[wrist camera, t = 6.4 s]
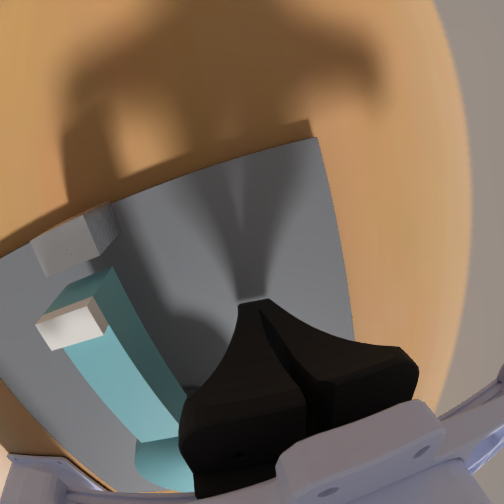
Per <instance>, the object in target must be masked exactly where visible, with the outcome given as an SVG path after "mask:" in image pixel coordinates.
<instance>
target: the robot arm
mask: <svg viewBox="0 0 504 504" xmlns="http://www.w3.org/2000/svg"><path fill="white" fill-rule="evenodd" d="M237 308H238V317H237V322H236V326H235V330H234V333H233V336H232V339H231V341H230V344H229V346H228V348H227V350H226V352H225V354H224V356H223V358H222V360H221V361H220V363H219V364H218V366H217V368H216V369H215V370H214V372H213V373H212V374H211V376H210V377H209V378H208V379H207V380H206V381H205V383H204V384H203V385H202V386H201V387H200V388H199V389H198V390H197V391H196V392H194V393H193V394H192V395H191V396H190V397H189V398H187V399H186V400H185V402H184V405H183V409H182V412H181V417H180V422H179V429H178V447H179V450H180V454H181V455H182V457H183V459H184V460H185V462H186V464H187V465H188V467H189V468H190V470H191V472H192V473H193V480H194V492H185V493H124V492H110V491H108V490H106V489H105V488H103V487H102V486H101V485H99V484H98V483H97V482H95V481H94V480H92V479H91V478H90V477H89V476H87V475H86V474H85V473H83V472H82V471H81V470H80V469H78V468H77V467H76V466H75V465H74V464H72V463H71V462H70V461H69V460H68V459H66V458H64V457H48V456H30V455H18V454H7V457H8V459H10V460H11V461H12V464H11V467H10V470H9V473H8V476H7V479H6V483H5V486H4V489H3V493H2V496H1V500H0V504H493V503H492V502H491V500H490V499H489V498H488V496H487V495H486V494H485V492H484V491H483V489H482V488H481V487H480V485H479V484H478V483H477V481H476V480H475V478H474V477H473V476H472V474H473V473H475V472H476V471H477V470H478V469H479V468H480V467H482V466H483V465H484V464H485V463H486V462H487V461H488V460H490V459H491V458H492V457H493V456H494V455H495V454H496V453H497V452H498V451H499V450H500V449H501V448H502V447H503V446H504V364H503V365H502V367H501V369H500V371H499V373H498V376H497V378H496V379H495V380H494V381H492V382H491V383H490V384H488V385H487V386H486V387H484V388H483V389H481V390H480V391H479V392H477V393H476V394H474V395H473V396H471V397H470V398H468V399H467V400H465V401H464V402H462V403H461V404H459V405H457V406H456V407H454V408H453V409H451V410H449V411H448V412H446V413H444V414H443V415H441V416H439V417H438V418H437V417H436V416H435V414H434V413H433V412H432V411H431V409H430V408H429V407H428V406H427V405H426V403H425V402H423V401H421V400H419V399H414V400H412V397H413V394H414V391H415V388H416V385H417V382H418V377H419V368H418V366H417V365H416V363H415V362H414V361H413V360H412V359H411V358H410V357H409V356H408V354H407V353H405V352H404V351H403V350H402V349H401V348H400V347H395V346H381V345H372V344H366V343H360V342H355V341H351V340H347V339H344V338H340V337H337V336H334V335H331V334H329V333H326V332H324V331H321V330H319V329H317V328H314V327H312V326H310V325H309V324H307V323H305V322H303V321H301V320H300V319H298V318H296V317H295V316H293V315H292V314H290V313H289V312H287V311H286V310H284V309H283V308H281V307H280V306H279V305H277V304H276V303H275V302H273V301H272V300H271V299H269V298H267V299H262V300H257V301H251V302H246V303H240V304H239V305H238V306H237Z"/></svg>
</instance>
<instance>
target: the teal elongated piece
mask: <svg viewBox="0 0 504 504" xmlns="http://www.w3.org/2000/svg"><path fill="white" fill-rule="evenodd" d="M35 326H36V328H37V329H38V331H39V332H40V334H41V335H42V337H43V339H44V340H45V342H46V343H47V345H48V346H49V348H50V349H51V351H53V350H56V349H60V348H63V349H64V350H65V352H66V353H67V355H68V356H69V358H70V359H71V360H72V362H73V363H74V365H75V366H76V367H77V369H78V370H79V371H80V373H81V374H82V375H83V377H84V378H85V379H86V381H87V382H88V383H89V385H90V386H91V387H92V388H93V390H94V391H95V392H96V393H97V395H98V396H99V397H100V398H101V399H102V401H103V402H104V403H105V404H106V405H107V406H108V408H109V409H110V410H111V411H112V412H113V413H114V414H115V416H116V417H117V418H118V419H119V420H120V421H121V422H122V423H123V424H124V425H125V426H126V427H127V428H128V430H129V431H130V432H131V433H132V434H133V435H134V436H135V437H136V438H137V441H136V449H135V459H134V465H135V468H136V470H137V471H138V473H139V474H140V475H141V476H142V477H143V478H145V479H146V480H148V481H149V482H151V483H153V484H155V485H158V486H160V487H163V488H166V489H170V490H174V491H180V492H194V480H193V473H192V472H191V470H190V468H189V467H188V465H187V464H186V462H185V460H184V459H183V457H182V455H181V454H180V450H179V447H178V429H179V422H180V417H181V412H182V409H183V405H184V402H185V400H186V393H185V392H184V391H183V389H182V388H181V386H180V385H179V383H178V382H177V380H176V378H175V377H174V375H173V374H172V372H171V371H170V369H169V368H168V366H167V364H166V363H165V361H164V360H163V358H162V356H161V355H160V353H159V351H158V350H157V348H156V346H155V345H154V343H153V341H152V340H151V338H150V336H149V335H148V333H147V331H146V329H145V328H144V326H143V324H142V322H141V320H140V319H139V317H138V315H137V313H136V311H135V309H134V308H133V306H132V304H131V302H130V300H129V298H128V296H127V294H126V292H125V290H124V288H123V286H122V284H121V282H120V280H119V278H118V276H117V274H116V272H115V270H114V268H113V266H112V267H110V268H107V269H105V270H102V271H100V272H97V273H95V274H92V275H90V276H87V277H85V278H82V279H80V280H77V281H75V282H73V283H70V284H68V285H67V286H66V287H65V288H64V289H63V290H62V292H61V293H60V294H59V295H58V296H57V298H56V299H55V300H54V301H53V303H52V304H51V305H50V306H49V308H48V309H47V310H46V311H45V313H44V314H43V315H42V316H41V318H40V319H39V320H38V322H37V323H36V324H35Z"/></svg>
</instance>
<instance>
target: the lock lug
mask: <svg viewBox="0 0 504 504" xmlns="http://www.w3.org/2000/svg"><path fill="white" fill-rule="evenodd" d="M121 232H122V231H121V228H120V226H119V223H118V221H117V218H116V216H115V213H114V210H113V208H112V205H111V202H110V200H108V201H105V202H103V203H101V204H99V205H96V206H94V207H92V208H90V209H87V210H85V211H83V212H81V213H79V214H77V215H74V216H72V217H70V218H68V219H66V220H64V221H62V222H60V223H59V224H57V225H55V226H54V227H52V228H50V229H49V230H47V231H45V232H44V233H42V234H40V235H39V236H37V237H35V238H34V239H32V240H31V241H30V243H31V245H32V247H33V250H34V252H35V254H36V257H37V259H38V261H39V263H40V265H41V268H42V270H43V272H44V274H45V276H46V278H47V277H49V276H52V275H54V274H56V273H59V272H61V271H63V270H66V269H68V268H71V267H73V266H75V265H78V264H80V263H83V262H85V261H88V260H90V259H93V258H95V257H98V256H100V255H101V254H102V253H103V252H104V250H105V249H106V248H107V247H108V246H109V245H110V244H111V243H112V241H113V240H114V239H115V238H116V237H117V236H118V235H119V234H120V233H121Z"/></svg>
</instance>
